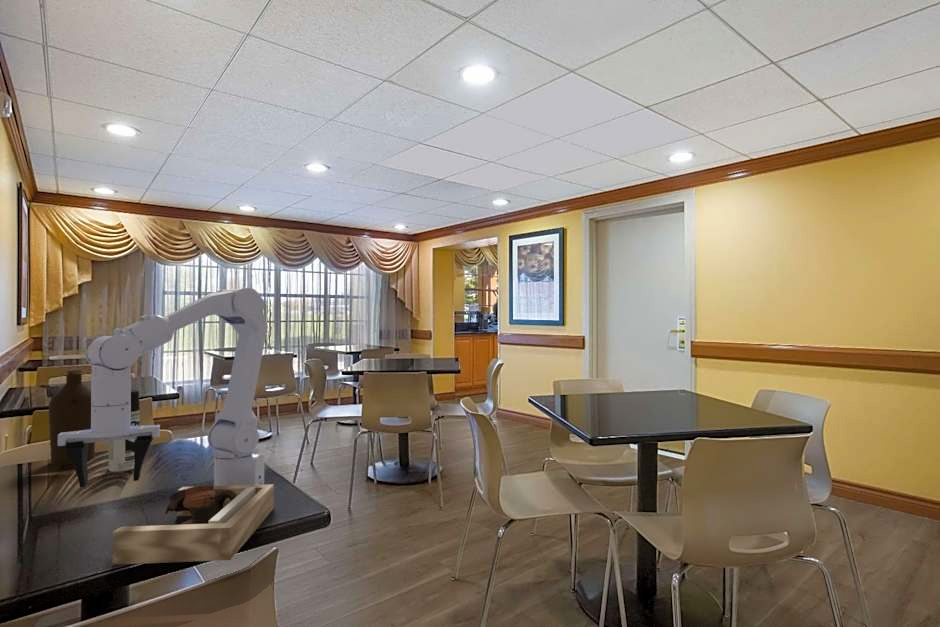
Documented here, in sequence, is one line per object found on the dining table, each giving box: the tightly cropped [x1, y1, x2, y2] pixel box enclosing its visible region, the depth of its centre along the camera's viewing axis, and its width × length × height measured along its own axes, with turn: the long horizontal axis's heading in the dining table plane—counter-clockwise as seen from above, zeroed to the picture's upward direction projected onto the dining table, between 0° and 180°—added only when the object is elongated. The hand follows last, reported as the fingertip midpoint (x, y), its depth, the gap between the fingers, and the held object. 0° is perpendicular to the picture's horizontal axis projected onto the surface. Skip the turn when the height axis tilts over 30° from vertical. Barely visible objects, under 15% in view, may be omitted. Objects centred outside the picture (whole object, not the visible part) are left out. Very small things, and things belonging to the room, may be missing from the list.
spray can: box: [107, 389, 141, 473], centre depth 132 cm, size 7×7×20 cm
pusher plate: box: [209, 487, 255, 524], centre depth 91 cm, size 2×17×5 cm, turn 4°
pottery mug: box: [164, 484, 237, 525], centre depth 94 cm, size 12×9×8 cm
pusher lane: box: [112, 483, 275, 566], centre depth 90 cm, size 18×22×5 cm
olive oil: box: [48, 368, 96, 466], centre depth 140 cm, size 11×11×25 cm
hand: (110, 482), depth 89 cm, fingers open, 7 cm apart
